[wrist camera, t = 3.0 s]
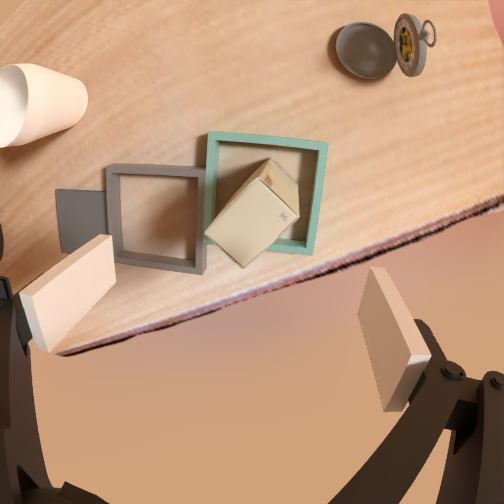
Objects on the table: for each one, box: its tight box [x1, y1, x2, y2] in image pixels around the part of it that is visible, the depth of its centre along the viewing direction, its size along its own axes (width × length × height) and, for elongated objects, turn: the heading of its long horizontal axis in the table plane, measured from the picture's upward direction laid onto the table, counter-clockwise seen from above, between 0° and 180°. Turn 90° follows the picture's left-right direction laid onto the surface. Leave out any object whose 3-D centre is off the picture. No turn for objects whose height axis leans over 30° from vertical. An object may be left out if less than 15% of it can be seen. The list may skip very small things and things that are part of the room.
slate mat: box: [55, 189, 109, 254], centre depth 38 cm, size 9×9×1 cm
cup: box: [0, 64, 88, 148], centre depth 27 cm, size 9×9×12 cm
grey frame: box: [106, 164, 207, 275], centre depth 36 cm, size 12×12×2 cm
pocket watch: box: [336, 13, 436, 79], centre depth 23 cm, size 8×8×10 cm
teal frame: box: [203, 132, 328, 256], centre depth 34 cm, size 12×12×2 cm
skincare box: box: [204, 158, 300, 269], centre depth 29 cm, size 6×4×12 cm
